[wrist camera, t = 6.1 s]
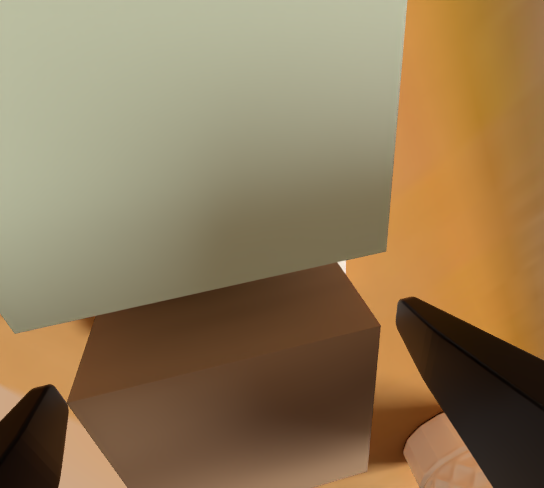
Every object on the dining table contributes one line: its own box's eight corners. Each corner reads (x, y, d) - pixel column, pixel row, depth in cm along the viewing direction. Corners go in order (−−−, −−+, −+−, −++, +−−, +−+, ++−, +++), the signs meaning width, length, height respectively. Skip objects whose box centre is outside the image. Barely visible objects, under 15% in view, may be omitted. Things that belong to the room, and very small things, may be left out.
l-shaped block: (327, 294, 15) (420, 464, 9) (138, 338, 14) (101, 562, 8) (315, -79, 8) (633, -381, 2) (-39, -47, 7) (-995, -431, 1)
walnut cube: (306, 327, 12) (367, 471, 8) (170, 359, 12) (160, 533, 8) (298, 204, 10) (381, 325, 6) (121, 238, 9) (66, 402, 5)
